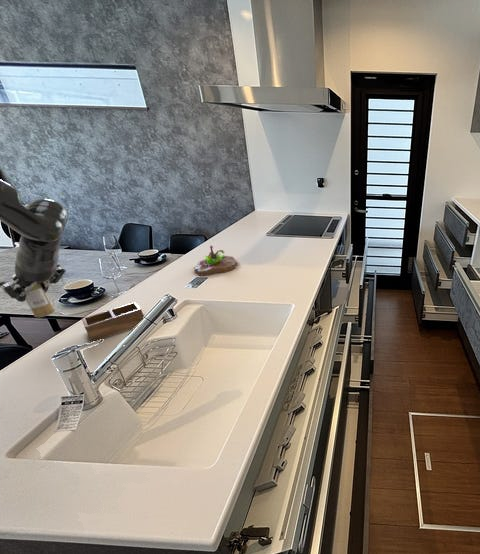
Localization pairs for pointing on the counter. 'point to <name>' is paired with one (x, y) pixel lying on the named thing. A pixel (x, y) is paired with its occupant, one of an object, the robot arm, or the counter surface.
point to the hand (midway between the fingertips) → (31, 295)
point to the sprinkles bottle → (38, 301)
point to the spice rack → (112, 321)
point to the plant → (215, 263)
